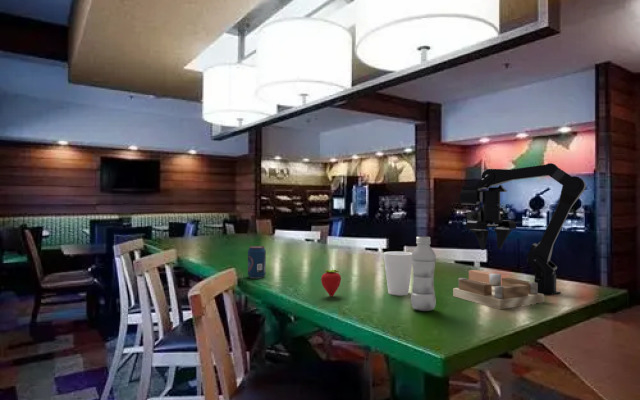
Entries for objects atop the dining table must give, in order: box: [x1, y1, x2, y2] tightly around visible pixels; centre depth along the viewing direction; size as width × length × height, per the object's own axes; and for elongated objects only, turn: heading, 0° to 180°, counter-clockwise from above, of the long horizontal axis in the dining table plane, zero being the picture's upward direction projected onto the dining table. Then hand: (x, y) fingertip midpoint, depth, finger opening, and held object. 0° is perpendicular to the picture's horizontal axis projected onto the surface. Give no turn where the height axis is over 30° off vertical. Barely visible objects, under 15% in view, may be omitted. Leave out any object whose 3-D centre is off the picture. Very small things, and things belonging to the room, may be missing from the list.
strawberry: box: [320, 263, 342, 297], centre depth 132 cm, size 6×8×10 cm
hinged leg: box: [468, 269, 502, 285], centre depth 141 cm, size 12×4×3 cm, turn 25°
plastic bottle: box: [410, 236, 437, 312], centre depth 115 cm, size 6×7×20 cm
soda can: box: [247, 245, 267, 279], centre depth 166 cm, size 7×7×12 cm
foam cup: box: [383, 251, 413, 296], centre depth 137 cm, size 10×9×13 cm
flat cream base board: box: [452, 277, 545, 310], centre depth 128 cm, size 18×18×6 cm
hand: (490, 249), depth 148 cm, fingers open, 8 cm apart
